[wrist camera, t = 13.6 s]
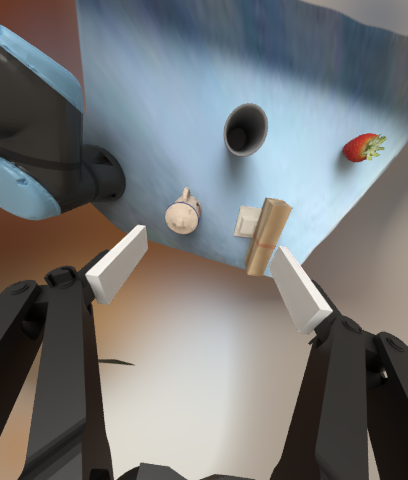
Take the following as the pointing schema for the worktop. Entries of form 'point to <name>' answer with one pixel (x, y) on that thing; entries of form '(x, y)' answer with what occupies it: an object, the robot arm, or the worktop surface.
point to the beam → (266, 235)
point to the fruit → (363, 147)
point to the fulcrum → (247, 221)
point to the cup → (245, 129)
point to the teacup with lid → (183, 213)
